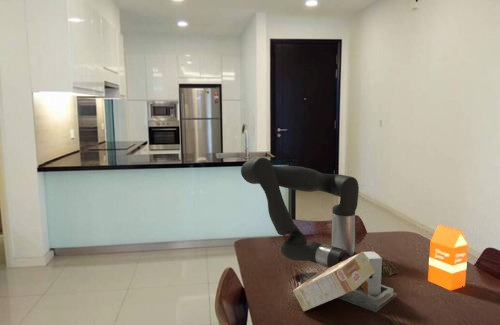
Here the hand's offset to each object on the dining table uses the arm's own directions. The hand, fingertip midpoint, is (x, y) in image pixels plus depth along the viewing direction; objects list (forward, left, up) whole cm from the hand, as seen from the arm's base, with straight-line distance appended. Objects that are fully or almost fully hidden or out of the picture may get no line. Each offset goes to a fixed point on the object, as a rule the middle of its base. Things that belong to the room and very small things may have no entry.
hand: (378, 271), depth 118 cm
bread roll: (-24, -11, -10) cm, 28 cm away
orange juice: (-29, +11, -10) cm, 32 cm away
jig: (0, -3, -9) cm, 10 cm away
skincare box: (0, -2, -7) cm, 8 cm away
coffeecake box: (+15, -15, -7) cm, 22 cm away
